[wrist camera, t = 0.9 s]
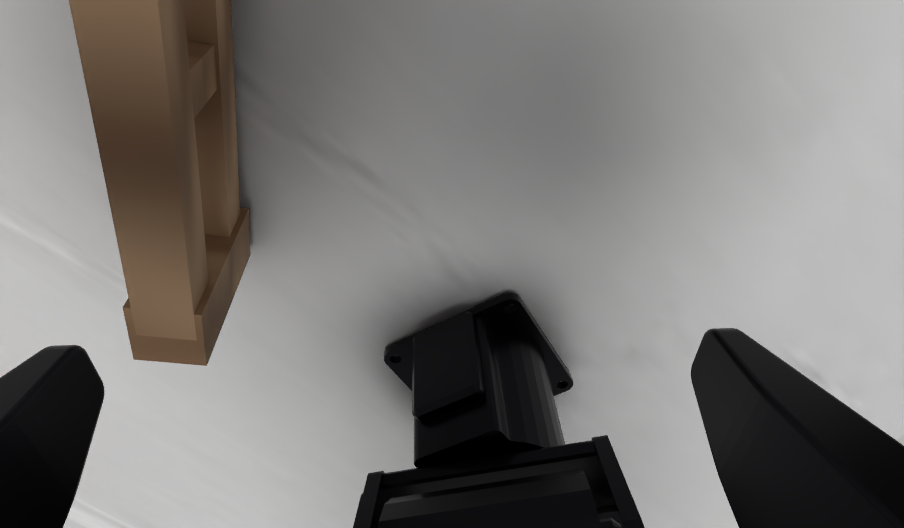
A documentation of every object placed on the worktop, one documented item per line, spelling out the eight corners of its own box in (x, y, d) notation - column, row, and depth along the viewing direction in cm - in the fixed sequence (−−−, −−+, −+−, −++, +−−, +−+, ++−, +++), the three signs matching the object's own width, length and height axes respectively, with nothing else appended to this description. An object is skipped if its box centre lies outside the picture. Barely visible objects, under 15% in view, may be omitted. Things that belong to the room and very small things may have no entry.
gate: (132, -330, 12) (-32, -423, 8) (232, -305, 12) (128, -381, 8) (193, 247, 21) (134, 359, 16) (250, 254, 21) (206, 365, 17)
